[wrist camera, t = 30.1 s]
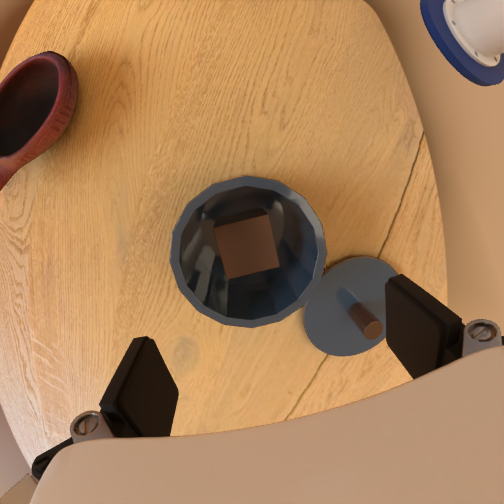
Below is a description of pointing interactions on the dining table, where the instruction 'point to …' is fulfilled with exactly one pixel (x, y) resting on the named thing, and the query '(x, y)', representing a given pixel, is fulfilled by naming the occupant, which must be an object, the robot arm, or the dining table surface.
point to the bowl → (34, 109)
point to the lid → (349, 307)
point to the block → (246, 243)
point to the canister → (257, 284)
